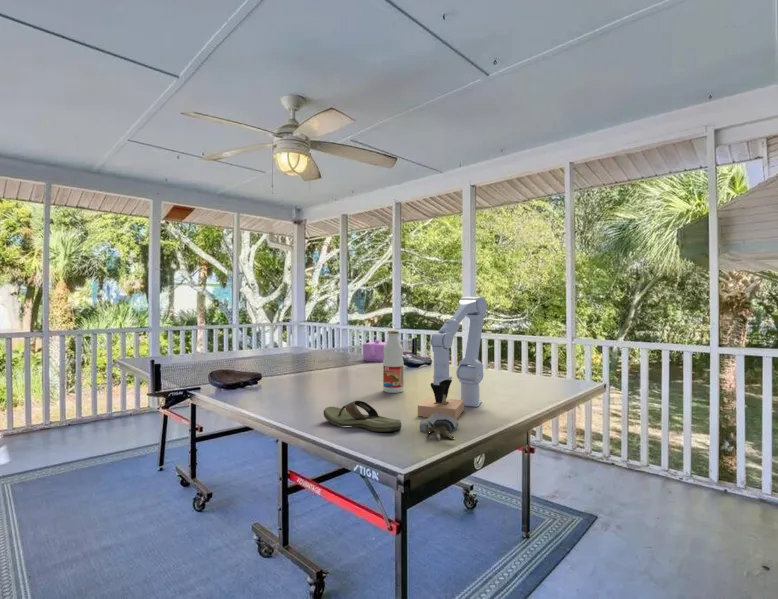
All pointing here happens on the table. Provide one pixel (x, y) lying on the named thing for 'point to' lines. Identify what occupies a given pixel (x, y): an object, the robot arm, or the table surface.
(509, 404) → the table surface
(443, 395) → the peg
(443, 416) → the stone block
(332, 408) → the flip flop
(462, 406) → the socket
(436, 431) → the eagle figurine
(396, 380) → the fruit juice
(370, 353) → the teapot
